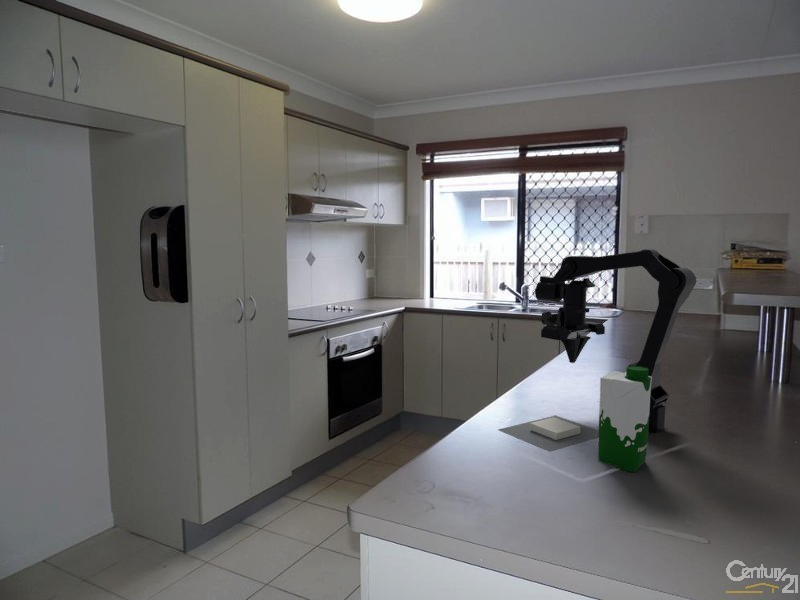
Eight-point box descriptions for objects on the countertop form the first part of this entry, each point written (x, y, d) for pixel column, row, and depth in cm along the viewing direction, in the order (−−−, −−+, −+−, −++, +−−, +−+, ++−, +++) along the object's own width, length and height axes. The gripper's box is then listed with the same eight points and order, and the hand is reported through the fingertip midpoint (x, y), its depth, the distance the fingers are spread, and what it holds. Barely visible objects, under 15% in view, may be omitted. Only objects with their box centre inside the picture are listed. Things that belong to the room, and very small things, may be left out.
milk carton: (638, 475, 106) (643, 374, 104) (591, 463, 112) (595, 367, 109) (651, 461, 113) (656, 366, 110) (606, 451, 118) (610, 359, 116)
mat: (609, 436, 127) (609, 433, 127) (549, 454, 116) (549, 451, 116) (555, 417, 141) (555, 415, 140) (497, 432, 130) (497, 429, 130)
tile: (580, 426, 127) (556, 433, 122) (580, 434, 127) (556, 440, 122) (553, 417, 133) (529, 423, 129) (553, 424, 133) (529, 430, 129)
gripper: (573, 299, 155) (571, 353, 157) (526, 303, 145) (524, 361, 147) (607, 303, 146) (604, 360, 148) (559, 307, 136) (557, 369, 137)
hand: (572, 362), depth 145 cm, fingers closed
